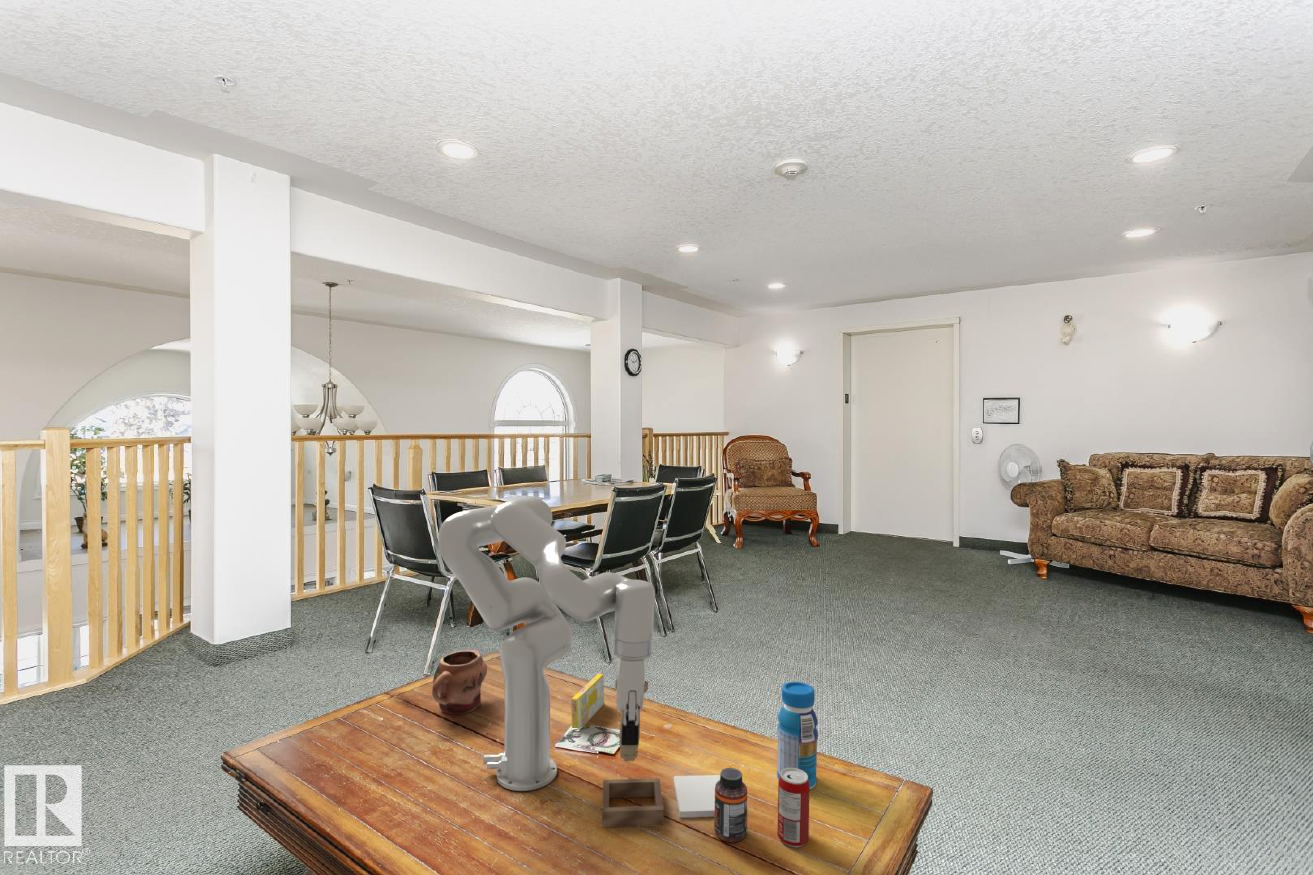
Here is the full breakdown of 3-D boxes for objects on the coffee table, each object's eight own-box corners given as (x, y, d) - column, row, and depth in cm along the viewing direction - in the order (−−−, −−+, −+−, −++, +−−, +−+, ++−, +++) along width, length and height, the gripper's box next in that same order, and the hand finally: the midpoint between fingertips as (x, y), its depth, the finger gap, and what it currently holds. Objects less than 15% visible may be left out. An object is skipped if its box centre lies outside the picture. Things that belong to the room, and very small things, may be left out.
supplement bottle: (711, 823, 118) (712, 764, 118) (742, 822, 119) (743, 763, 119) (717, 844, 112) (718, 782, 112) (750, 843, 113) (751, 781, 113)
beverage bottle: (773, 787, 130) (774, 692, 130) (779, 766, 138) (781, 676, 138) (814, 796, 127) (816, 698, 127) (819, 774, 135) (820, 682, 135)
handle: (638, 768, 119) (642, 690, 119) (608, 759, 122) (611, 683, 121) (648, 755, 124) (651, 680, 123) (619, 747, 126) (622, 674, 125)
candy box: (597, 703, 169) (597, 672, 168) (604, 704, 168) (605, 673, 168) (570, 731, 153) (570, 697, 153) (578, 732, 153) (578, 698, 152)
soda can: (803, 828, 117) (805, 765, 117) (812, 848, 112) (813, 782, 111) (774, 828, 117) (775, 765, 117) (781, 848, 112) (782, 782, 111)
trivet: (679, 817, 120) (679, 811, 120) (673, 781, 132) (673, 776, 132) (741, 815, 121) (741, 809, 121) (730, 780, 133) (730, 774, 133)
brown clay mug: (459, 731, 152) (459, 674, 152) (414, 725, 155) (414, 669, 154) (497, 696, 172) (497, 645, 171) (456, 691, 174) (456, 642, 174)
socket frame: (602, 827, 117) (602, 811, 117) (603, 794, 127) (603, 779, 127) (663, 825, 118) (663, 809, 118) (659, 792, 128) (659, 778, 128)
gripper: (613, 630, 130) (610, 717, 130) (613, 662, 113) (609, 761, 114) (650, 630, 130) (646, 717, 131) (655, 662, 114) (651, 762, 114)
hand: (629, 737), depth 122 cm, fingers closed on handle, 4 cm apart
